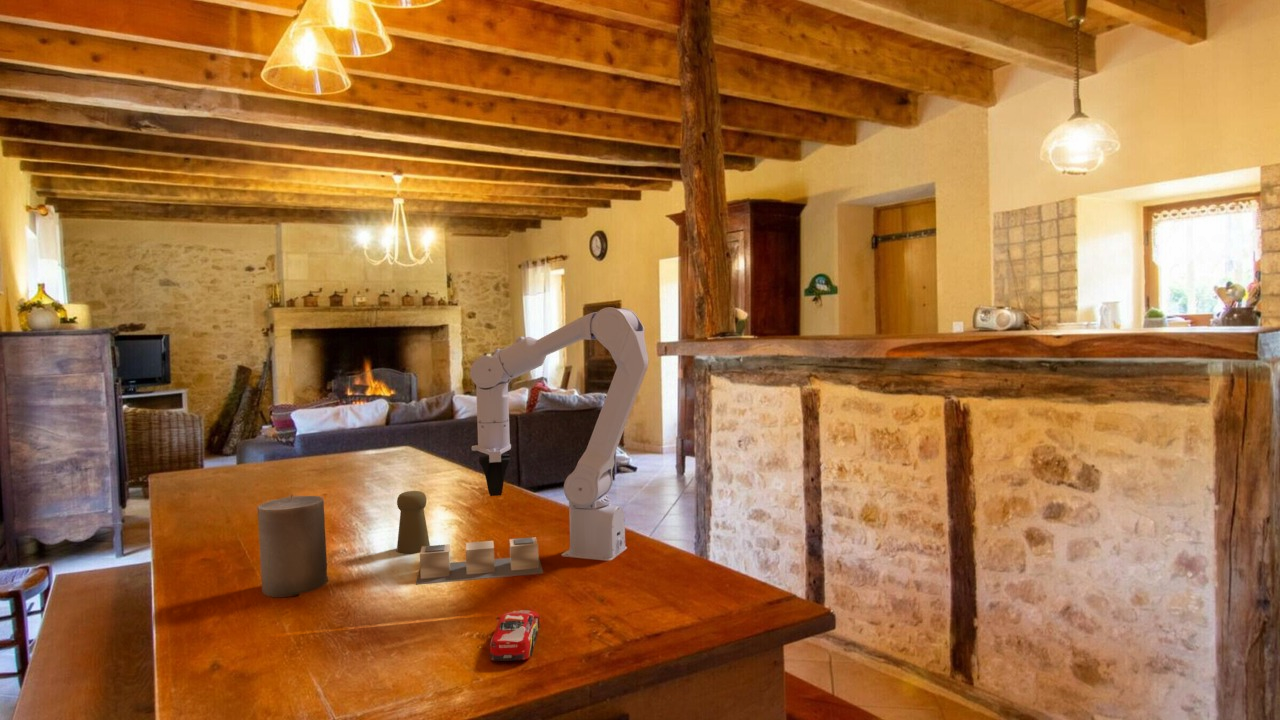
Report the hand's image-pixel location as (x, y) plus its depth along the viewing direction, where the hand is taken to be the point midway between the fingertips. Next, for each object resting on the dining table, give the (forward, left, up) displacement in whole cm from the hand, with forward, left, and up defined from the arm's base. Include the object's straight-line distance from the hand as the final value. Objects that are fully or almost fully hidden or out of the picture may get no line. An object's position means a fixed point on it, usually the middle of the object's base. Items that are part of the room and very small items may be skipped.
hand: (495, 495), depth 139 cm
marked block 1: (+1, +17, -10) cm, 19 cm away
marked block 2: (-11, +9, -10) cm, 16 cm away
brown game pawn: (+14, +6, -10) cm, 18 cm away
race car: (-25, +36, -10) cm, 45 cm away
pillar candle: (+20, +28, -10) cm, 36 cm away
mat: (-5, +13, -10) cm, 17 cm away
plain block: (-5, +13, -10) cm, 16 cm away
